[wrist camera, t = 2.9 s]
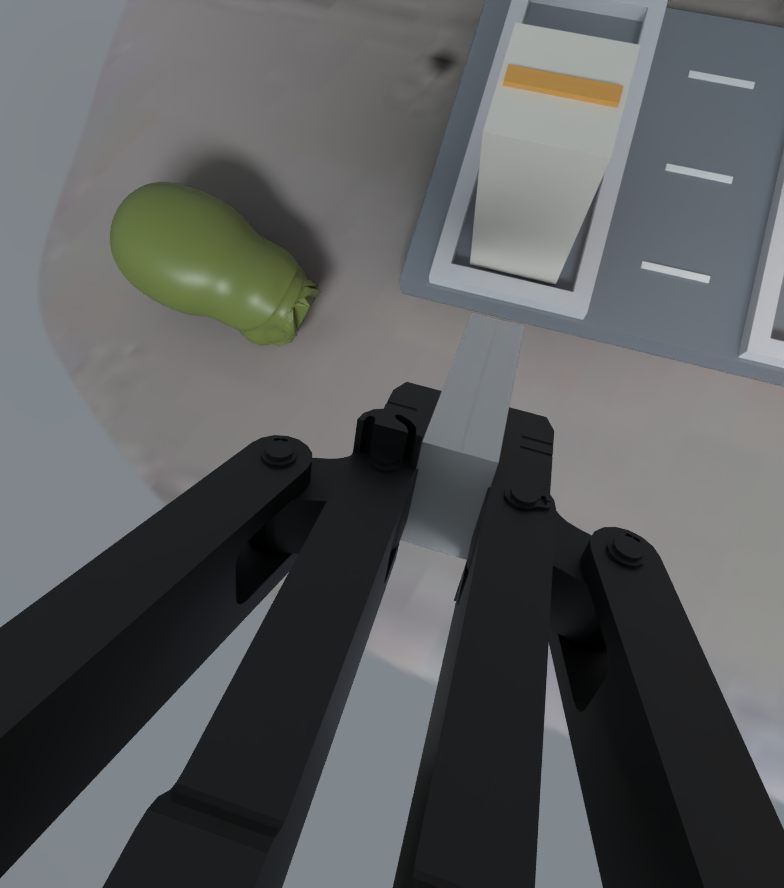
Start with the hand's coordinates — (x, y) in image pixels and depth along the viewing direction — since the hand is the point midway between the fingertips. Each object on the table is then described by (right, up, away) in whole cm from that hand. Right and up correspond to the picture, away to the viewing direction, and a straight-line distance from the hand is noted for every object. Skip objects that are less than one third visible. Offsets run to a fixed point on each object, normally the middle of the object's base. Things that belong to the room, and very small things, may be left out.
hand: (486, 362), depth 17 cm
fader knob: (+3, +7, +10) cm, 13 cm away
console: (+12, +10, +12) cm, 19 cm away
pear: (-11, +6, +13) cm, 18 cm away
